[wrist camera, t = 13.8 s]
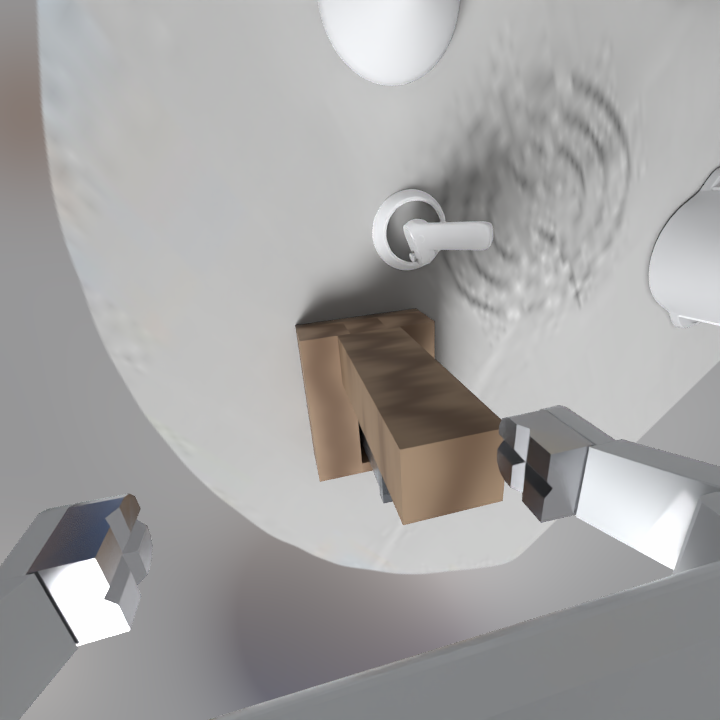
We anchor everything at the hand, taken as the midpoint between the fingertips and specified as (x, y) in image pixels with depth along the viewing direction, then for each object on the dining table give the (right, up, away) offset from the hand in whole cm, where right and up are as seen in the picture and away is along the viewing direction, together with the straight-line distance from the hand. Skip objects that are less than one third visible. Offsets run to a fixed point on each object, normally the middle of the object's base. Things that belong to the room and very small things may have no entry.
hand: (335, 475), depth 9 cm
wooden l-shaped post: (+1, 0, +35) cm, 35 cm away
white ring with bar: (+5, +15, +30) cm, 34 cm away
